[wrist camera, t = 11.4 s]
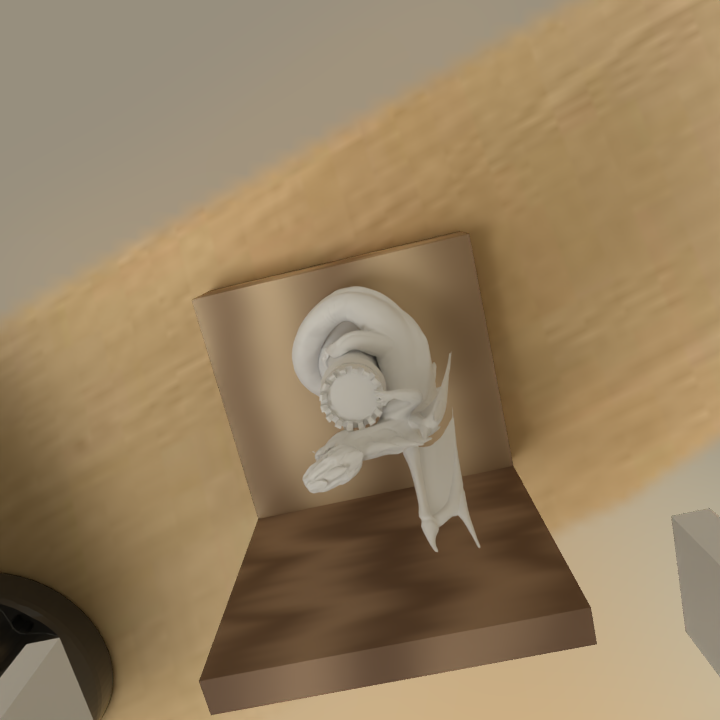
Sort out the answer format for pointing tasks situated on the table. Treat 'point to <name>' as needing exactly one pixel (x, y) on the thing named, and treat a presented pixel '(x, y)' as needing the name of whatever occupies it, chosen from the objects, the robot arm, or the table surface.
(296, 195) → the table surface
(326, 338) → the figurine
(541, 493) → the table surface
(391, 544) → the wall shelf
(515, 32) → the table surface
